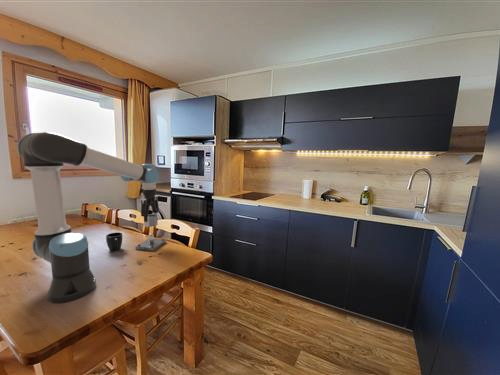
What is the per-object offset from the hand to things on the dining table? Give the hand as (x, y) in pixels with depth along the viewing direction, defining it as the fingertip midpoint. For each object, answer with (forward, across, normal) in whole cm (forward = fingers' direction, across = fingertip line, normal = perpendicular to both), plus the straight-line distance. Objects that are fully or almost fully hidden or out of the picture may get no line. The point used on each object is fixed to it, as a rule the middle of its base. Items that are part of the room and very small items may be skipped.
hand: (150, 224), depth 131 cm
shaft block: (+14, 0, 0) cm, 14 cm away
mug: (+14, -11, +16) cm, 24 cm away
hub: (0, 0, 0) cm, 0 cm away
